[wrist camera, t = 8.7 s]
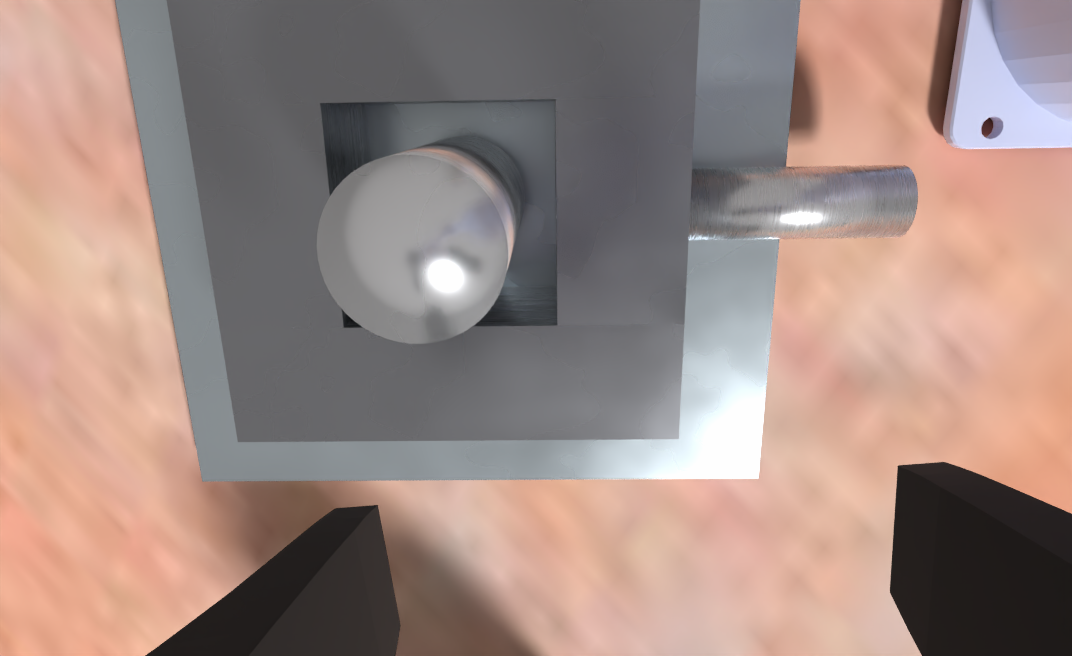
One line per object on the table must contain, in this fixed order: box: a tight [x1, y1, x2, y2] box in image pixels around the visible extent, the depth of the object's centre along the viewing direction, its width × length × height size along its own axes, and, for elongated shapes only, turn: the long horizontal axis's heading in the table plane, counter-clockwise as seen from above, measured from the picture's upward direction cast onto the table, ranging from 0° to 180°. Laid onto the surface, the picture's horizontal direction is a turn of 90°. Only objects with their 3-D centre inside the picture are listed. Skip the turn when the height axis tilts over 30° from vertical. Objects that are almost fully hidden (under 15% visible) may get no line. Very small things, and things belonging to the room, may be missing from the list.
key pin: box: [317, 136, 525, 344], centre depth 14 cm, size 3×3×7 cm
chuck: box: [115, 0, 918, 481], centre depth 16 cm, size 18×16×4 cm
